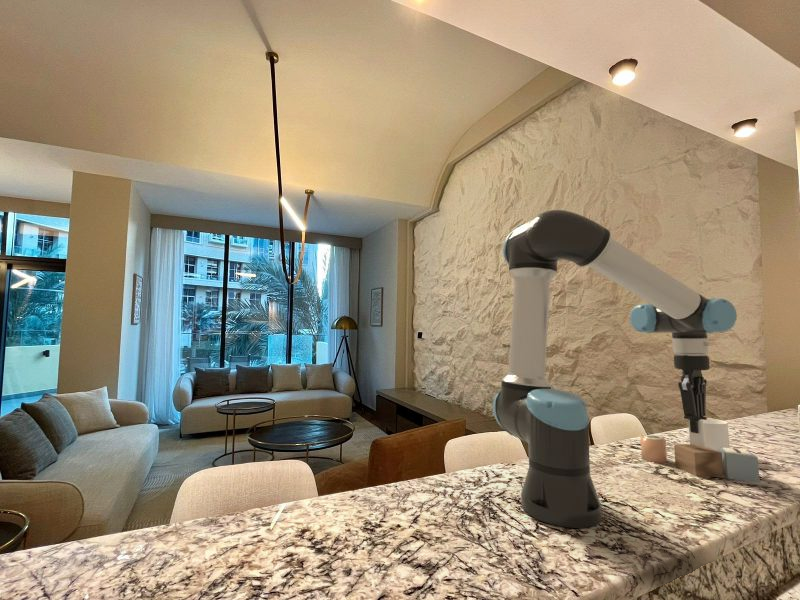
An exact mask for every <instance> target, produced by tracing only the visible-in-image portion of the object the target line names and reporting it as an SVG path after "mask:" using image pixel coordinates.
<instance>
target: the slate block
mask: <svg viewBox="0 0 800 600" xmlns="http://www.w3.org/2000/svg"><path fill="white" fill-rule="evenodd" d="M718 451H719V452H722V462H723V476H725V477H726V478H727V479H728V480H729V479H730V480H735V479H737V481H745V482H750V483H751V482H753V483H760V482H761V480H760V471H759V470H760V469H759V468H760V467H759V457H758V456H757V455H756V454H753V453H752V452H751V451H750V450H747V449H741V448H732V447H730V448H719V447H718Z"/></svg>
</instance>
